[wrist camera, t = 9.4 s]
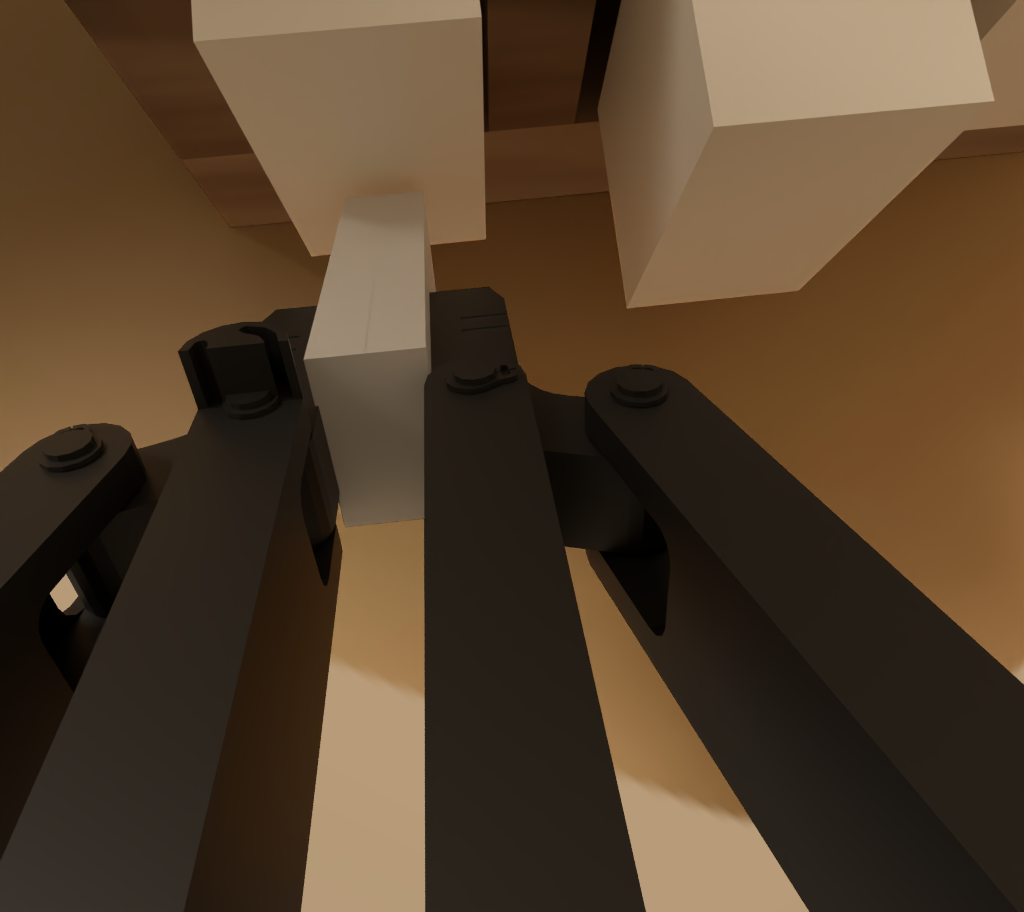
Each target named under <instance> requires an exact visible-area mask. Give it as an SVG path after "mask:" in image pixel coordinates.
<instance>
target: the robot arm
mask: <svg viewBox="0 0 1024 912" xmlns="http://www.w3.org/2000/svg"><path fill="white" fill-rule="evenodd" d="M178 353H179V356H180V359H181V362H182V365H183V367H184V370H185V373H186V376H187V379H188V382H189V384H190V387H191V390H192V393H193V396H194V399H195V401H196V404H197V407H198V411H197V414H196V416H195V418H194V420H193V423H192V425H191V427H190V430H189V432H188V434H187V435H184V436H181V437H178V438H176V439H173V440H169V441H166V442H162V443H158V444H155V445H151V446H148V447H144V448H141V449H137V448H136V446H135V443H134V441H133V439H132V436H131V434H130V432H128V431H127V430H125V429H124V428H123V427H121V426H118V425H112V424H106V423H100V424H88V425H87V424H81V425H76V426H73V428H71V427H68V428H65V429H61V430H59V431H57V432H56V433H55V434H53V435H51V436H48V437H46V438H44V439H42V440H40V441H38V442H37V443H35V444H34V445H33V446H31V447H30V448H28V449H27V450H25V451H24V452H23V453H22V454H20V455H19V456H18V457H17V458H16V459H15V460H14V461H13V462H12V463H10V464H9V465H8V466H7V467H6V468H5V469H4V470H3V471H1V472H0V912H301V904H302V896H303V887H304V879H305V870H306V861H307V853H308V844H309V835H310V827H311V818H312V810H313V801H314V792H315V784H316V775H317V766H318V758H319V749H320V741H321V732H322V723H323V715H324V706H325V697H326V689H327V680H328V672H329V663H330V654H331V646H332V637H333V629H334V620H335V611H336V603H337V594H338V585H339V577H340V568H341V559H342V546H341V541H340V537H339V533H338V529H337V525H336V516H337V509H338V501H339V504H340V508H341V512H342V516H343V520H344V525H345V527H352V526H361V525H370V524H379V523H389V522H398V521H407V520H416V519H424V599H425V912H646V910H645V906H644V902H643V897H642V893H641V888H640V883H639V879H638V874H637V870H636V866H635V861H634V857H633V852H632V848H631V843H630V839H629V834H628V830H627V825H626V821H625V816H624V812H623V807H622V803H621V798H620V794H619V790H618V785H617V780H616V776H615V771H614V767H613V762H612V758H611V753H610V749H609V744H608V740H607V736H606V731H605V727H604V722H603V718H602V713H601V709H600V704H599V700H598V695H597V691H596V686H595V682H594V677H593V673H592V668H591V664H590V659H589V655H588V650H587V646H586V641H585V637H584V632H583V628H582V623H581V619H580V615H579V610H578V606H577V601H576V597H575V592H574V588H573V583H572V579H571V574H570V570H569V565H568V561H567V556H566V552H565V547H564V546H566V547H574V548H582V549H586V554H587V557H588V560H589V563H590V565H591V567H592V568H593V570H594V571H595V573H596V575H597V576H598V578H599V579H600V581H601V582H602V584H603V586H604V587H605V589H606V590H607V592H608V594H609V595H610V597H611V598H612V600H613V601H614V603H615V605H616V606H617V608H618V609H619V611H620V613H621V614H622V616H623V617H624V619H625V620H626V622H627V624H628V625H629V627H630V628H631V630H632V632H633V633H634V635H635V636H636V638H637V639H638V641H639V643H640V644H641V646H642V647H643V649H644V651H645V652H646V654H647V655H648V657H649V658H650V660H651V662H652V663H653V665H654V666H655V668H656V670H657V671H658V673H659V674H660V676H661V677H662V679H663V681H664V682H665V684H666V685H667V687H668V689H669V690H670V692H671V693H672V695H673V696H674V698H675V700H676V701H677V703H678V704H679V706H680V708H681V709H682V711H683V712H684V714H685V715H686V717H687V719H688V720H689V722H690V723H691V725H692V727H693V728H694V730H695V731H696V733H697V734H698V736H699V738H700V739H701V741H702V742H703V744H704V746H705V747H706V749H707V750H708V752H709V753H710V755H711V757H712V758H713V760H714V761H715V763H716V765H717V766H718V768H719V769H720V771H721V772H722V774H723V776H724V777H725V779H726V780H727V782H728V784H729V785H730V787H731V788H732V790H733V791H734V793H735V795H736V796H737V798H738V799H739V801H740V803H741V804H742V806H743V807H744V809H745V810H746V812H747V814H748V815H749V817H750V818H751V820H752V822H753V823H754V825H755V826H756V828H757V829H758V831H759V833H760V834H761V836H762V837H763V839H764V841H765V842H766V844H767V845H768V847H769V848H770V850H771V852H772V853H773V855H774V856H775V858H776V860H777V861H778V863H779V864H780V866H781V867H782V869H783V871H784V872H785V874H786V875H787V877H788V879H789V880H790V882H791V883H792V884H793V886H794V888H795V890H796V891H797V893H798V894H799V896H800V898H801V899H802V901H803V902H804V904H805V905H806V907H807V909H808V910H809V912H1024V684H1022V683H1021V682H1020V681H1019V680H1018V679H1017V678H1016V677H1015V676H1014V675H1012V674H1011V673H1010V672H1009V671H1008V670H1007V669H1006V668H1005V667H1004V666H1003V665H1001V664H1000V663H999V662H998V661H997V660H996V659H995V658H994V657H993V656H992V655H990V654H989V653H988V652H987V651H986V650H985V649H984V648H983V647H982V646H980V645H979V644H978V643H977V642H976V641H975V640H974V639H973V638H972V637H971V636H969V635H968V634H967V633H966V632H965V631H964V630H963V629H962V628H961V627H959V626H958V625H957V624H956V623H955V622H954V621H953V620H952V619H951V618H950V617H948V616H947V615H946V614H945V613H944V612H943V611H942V610H941V609H940V608H938V607H937V606H936V605H935V604H934V603H933V602H932V601H931V600H930V599H929V598H927V597H926V596H925V595H924V594H923V593H922V592H921V591H920V590H919V589H917V588H916V587H915V586H914V585H913V584H912V583H911V582H910V581H909V580H908V579H906V578H905V577H904V576H903V575H902V574H901V573H900V572H899V571H898V570H897V569H895V568H894V567H893V566H892V565H891V564H890V563H889V562H888V561H887V560H885V559H884V558H883V557H882V556H881V555H880V554H879V553H878V552H877V551H876V550H874V549H873V548H872V547H871V546H870V545H869V544H868V543H867V542H866V541H864V540H863V539H862V538H861V537H860V536H859V535H858V534H857V533H856V532H855V531H853V530H852V529H851V528H850V527H849V526H848V525H847V524H846V523H845V522H843V521H842V520H841V519H840V518H839V517H838V516H837V515H836V514H835V513H834V512H832V511H831V510H830V509H829V508H828V507H827V506H826V505H825V504H824V503H822V502H821V501H820V500H819V499H818V498H817V497H816V496H815V495H814V494H813V493H811V492H810V491H809V490H808V489H807V488H806V487H805V486H804V485H803V484H801V483H800V482H799V481H798V480H797V479H796V478H795V477H794V476H793V475H792V474H790V473H789V472H788V471H787V470H786V469H785V468H784V467H783V466H782V465H781V464H779V463H778V462H777V461H776V460H775V459H774V458H773V457H772V456H771V455H769V454H768V453H767V452H766V451H765V450H764V449H763V448H762V447H761V446H760V445H758V444H757V443H756V442H755V441H754V440H753V439H752V438H751V437H750V436H748V435H747V434H746V433H745V432H744V431H743V430H742V429H741V428H740V427H739V426H737V425H736V424H735V423H734V422H733V421H732V420H731V419H730V418H729V417H727V416H726V415H725V414H724V413H723V412H722V411H721V410H720V409H719V408H718V407H716V406H715V405H714V404H713V403H712V402H711V401H710V400H709V399H708V398H706V397H705V396H704V395H703V394H702V393H701V392H700V391H699V390H698V389H697V388H695V387H694V386H693V385H692V384H691V383H690V382H689V381H688V380H686V379H685V378H683V377H681V376H680V375H678V374H676V373H675V372H673V371H669V370H666V369H662V368H659V367H656V366H651V365H644V366H642V365H629V366H624V367H616V368H613V369H610V370H607V371H605V372H602V373H599V374H598V375H597V376H596V377H594V378H593V379H592V380H591V381H589V382H588V385H587V388H586V391H585V397H578V396H566V395H560V394H553V393H550V392H547V391H543V390H540V389H538V388H536V387H534V386H532V385H531V384H529V383H528V381H527V377H526V374H525V373H524V371H523V370H522V368H521V366H519V365H518V362H517V357H516V352H515V348H514V343H513V339H512V334H511V329H510V325H509V320H508V316H507V311H506V306H505V302H504V298H503V297H501V296H500V295H499V294H497V293H496V292H495V291H494V290H492V289H491V288H490V287H481V288H471V289H461V290H450V291H440V292H436V286H435V278H434V270H433V262H432V255H431V247H430V239H429V231H428V223H427V215H426V207H425V199H424V191H415V192H404V193H393V194H382V195H371V196H360V197H349V198H345V201H344V205H343V209H342V213H341V217H340V221H339V225H338V228H337V232H336V236H335V240H334V244H333V248H332V252H331V256H330V259H329V263H328V267H327V271H326V275H325V279H324V283H323V286H322V290H321V294H320V298H319V302H318V306H310V307H300V308H290V309H280V310H276V311H274V312H273V313H272V314H271V315H270V316H268V317H267V318H266V319H265V320H264V321H262V322H241V323H236V324H230V325H224V326H221V327H218V328H215V329H212V330H209V331H206V332H203V333H201V334H199V335H198V336H196V337H194V338H192V339H191V340H189V341H187V342H186V343H185V344H184V345H183V346H182V348H181V349H180V350H179V351H178ZM65 574H67V576H68V578H69V580H70V581H71V583H72V585H73V587H74V589H75V591H76V592H77V594H78V597H77V599H76V600H75V601H74V603H73V604H72V605H71V606H70V607H69V608H67V609H66V610H65V611H64V612H61V610H59V609H58V607H57V605H56V604H55V602H54V600H53V599H52V597H51V595H50V592H51V591H52V590H53V588H54V587H55V586H56V585H57V584H58V582H59V581H60V580H61V579H62V578H63V577H64V576H65Z"/></svg>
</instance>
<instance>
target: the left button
mask: <svg viewBox="0 0 1024 912" xmlns="http://www.w3.org/2000/svg"><path fill="white" fill-rule="evenodd" d="M191 7H192V26H193V42H194V44H195V45H196V47H197V49H198V51H199V53H200V55H201V56H202V58H203V60H204V62H205V64H206V66H207V67H208V69H209V71H210V73H211V75H212V76H213V78H214V80H215V82H216V84H217V86H218V87H219V89H220V91H221V93H222V95H223V96H224V98H225V100H226V102H227V104H228V106H229V107H230V109H231V111H232V113H233V115H234V116H235V118H236V120H237V122H238V124H239V126H240V127H241V129H242V131H243V133H244V135H245V136H246V138H247V140H248V142H249V144H250V146H251V147H252V149H253V151H254V153H255V155H256V156H257V158H258V160H259V162H260V164H261V166H262V167H263V169H264V171H265V173H266V175H267V176H268V178H269V180H270V182H271V184H272V186H273V187H274V189H275V191H276V193H277V195H278V196H279V198H280V200H281V202H282V204H283V206H284V207H285V209H286V211H287V213H288V215H289V216H290V218H291V220H292V222H293V224H294V226H295V227H296V229H297V231H298V233H299V235H300V236H301V238H302V240H303V242H304V244H305V246H306V247H307V249H308V251H309V253H310V255H311V256H321V255H331V252H332V248H333V244H334V240H335V236H336V232H337V228H338V225H339V221H340V217H341V213H342V209H343V205H344V201H345V198H349V197H360V196H371V195H382V194H393V193H404V192H415V191H424V199H425V207H426V215H427V223H428V231H429V239H430V245H433V244H444V243H454V242H464V241H474V240H484V239H486V211H485V161H484V110H483V60H482V16H481V8H480V0H191Z"/></svg>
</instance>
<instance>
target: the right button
mask: <svg viewBox="0 0 1024 912" xmlns="http://www.w3.org/2000/svg"><path fill="white" fill-rule="evenodd" d="M970 1H971V5H972V9H973V13H974V18H975V22H976V26H977V30H978V34H979V38H980V42H981V47H982V51H983V55H984V59H985V63H986V67H987V71H988V76H989V80H990V84H991V88H992V92H993V96H994V102H993V103H992V104H991V105H990V106H989V107H988V108H987V109H986V110H985V111H984V112H983V113H982V114H981V115H980V116H979V117H978V118H977V119H976V120H974V121H973V122H972V123H971V124H970V125H969V126H968V127H967V128H966V129H965V130H976V129H986V128H997V127H1007V126H1018V125H1024V0H970ZM965 130H964V131H965Z"/></svg>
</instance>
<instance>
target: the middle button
mask: <svg viewBox="0 0 1024 912" xmlns="http://www.w3.org/2000/svg"><path fill="white" fill-rule="evenodd" d="M993 102H994V96H993V92H992V88H991V84H990V80H989V76H988V71H987V67H986V63H985V59H984V55H983V51H982V47H981V42H980V38H979V34H978V30H977V26H976V22H975V18H974V13H973V9H972V5H971V1H970V0H621V4H620V9H619V13H618V18H617V22H616V27H615V31H614V36H613V41H612V45H611V50H610V54H609V59H608V63H607V68H606V73H605V77H604V82H603V86H602V91H601V95H600V100H599V104H598V109H597V110H598V117H599V123H600V130H601V137H602V144H603V151H604V157H605V164H606V171H607V178H608V185H609V191H610V198H611V205H612V212H613V219H614V225H615V232H616V239H617V246H618V253H619V259H620V266H621V273H622V280H623V286H624V293H625V300H626V307H627V308H636V307H646V306H656V305H665V304H675V303H685V302H695V301H704V300H714V299H724V298H734V297H743V296H753V295H763V294H773V293H782V292H792V291H799V290H800V289H801V288H802V287H803V286H804V285H805V284H806V283H807V282H808V281H809V280H810V279H811V278H812V277H813V276H814V275H815V274H816V273H817V272H818V271H820V270H821V269H822V268H823V267H824V266H825V265H826V264H827V263H828V262H829V261H830V260H831V259H832V258H833V257H834V256H835V255H836V254H837V253H838V252H839V251H840V250H841V249H842V248H843V247H844V246H845V245H846V244H847V243H848V242H849V241H850V240H852V239H853V238H854V237H855V236H856V235H857V234H858V233H859V232H860V231H861V230H862V229H863V228H864V227H865V226H866V225H867V224H868V223H869V222H870V221H871V220H872V219H873V218H874V217H875V216H876V215H877V214H878V213H879V212H880V211H881V210H883V209H884V208H885V207H886V206H887V205H888V204H889V203H890V202H891V201H892V200H893V199H894V198H895V197H896V196H897V195H898V194H899V193H900V192H901V191H902V190H903V189H904V188H905V187H906V186H907V185H908V184H909V183H910V182H911V181H912V180H914V179H915V178H916V177H917V176H918V175H919V174H920V173H921V172H922V171H923V170H924V169H925V168H926V167H927V166H928V165H929V164H930V163H931V162H932V161H933V160H934V159H935V158H936V157H937V156H938V155H939V154H940V153H941V152H942V151H943V150H945V149H946V148H947V147H948V146H949V145H950V144H951V143H952V142H953V141H954V140H955V139H956V138H957V137H958V136H959V135H960V134H961V133H962V132H963V131H964V130H965V129H966V128H967V127H968V126H969V125H970V124H971V123H972V122H973V121H974V120H976V119H977V118H978V117H979V116H980V115H981V114H982V113H983V112H984V111H985V110H986V109H987V108H988V107H989V106H990V105H991V104H992V103H993Z"/></svg>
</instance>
